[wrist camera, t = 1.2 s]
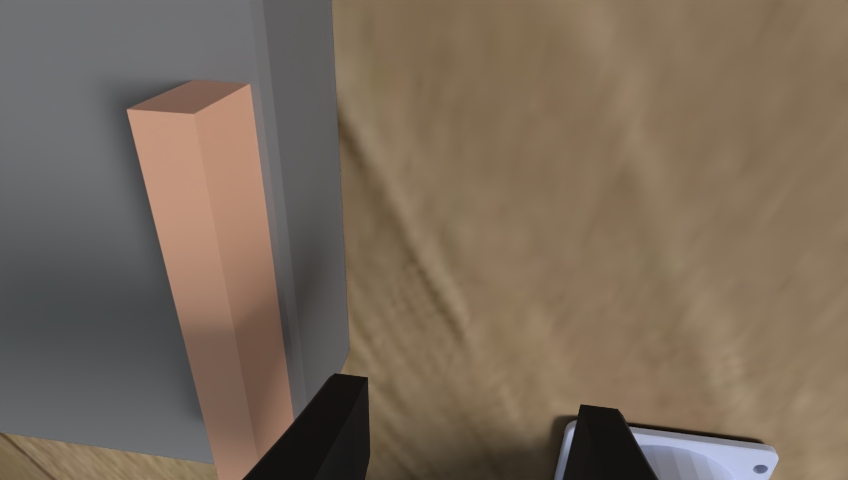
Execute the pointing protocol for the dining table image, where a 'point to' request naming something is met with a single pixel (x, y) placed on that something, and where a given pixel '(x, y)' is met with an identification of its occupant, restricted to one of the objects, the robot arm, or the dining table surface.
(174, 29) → the mailer lid
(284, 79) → the box
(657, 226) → the dining table surface
